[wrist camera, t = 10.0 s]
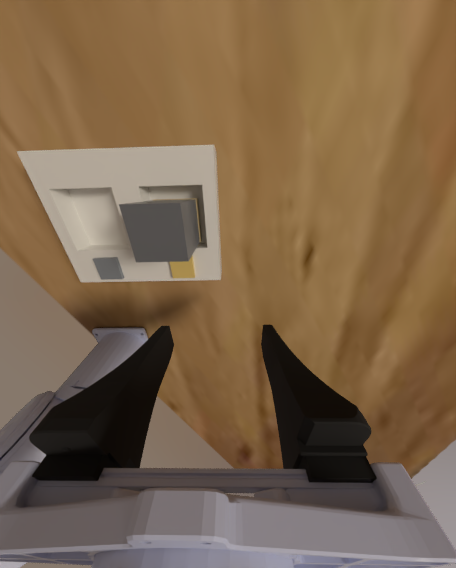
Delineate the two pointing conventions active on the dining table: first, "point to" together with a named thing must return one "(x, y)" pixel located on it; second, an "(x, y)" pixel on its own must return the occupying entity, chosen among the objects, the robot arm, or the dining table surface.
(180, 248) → the plug
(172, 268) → the sorting tray
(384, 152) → the dining table surface
